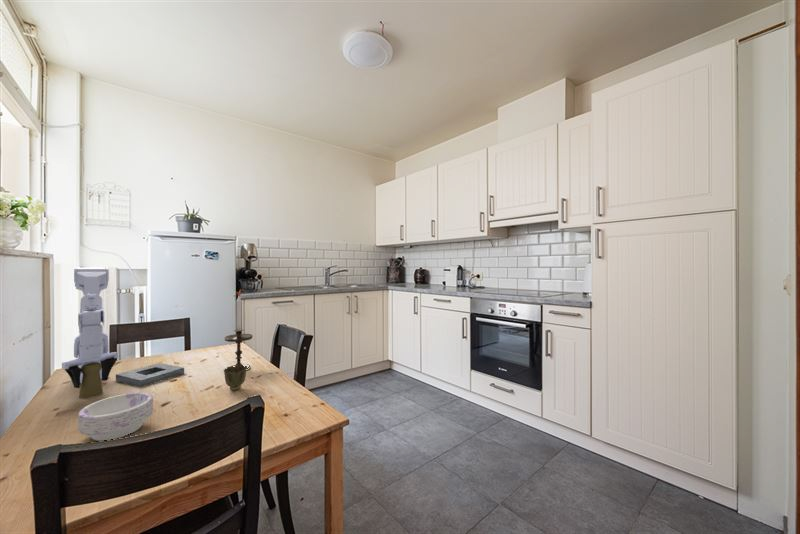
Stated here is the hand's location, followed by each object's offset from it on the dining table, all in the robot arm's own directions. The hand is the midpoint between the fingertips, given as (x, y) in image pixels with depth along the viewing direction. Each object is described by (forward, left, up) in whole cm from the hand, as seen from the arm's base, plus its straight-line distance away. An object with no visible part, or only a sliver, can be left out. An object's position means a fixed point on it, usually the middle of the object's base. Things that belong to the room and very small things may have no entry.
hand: (91, 383), depth 112 cm
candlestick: (+24, +40, -4) cm, 47 cm away
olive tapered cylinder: (0, 0, -4) cm, 4 cm away
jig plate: (0, +19, -4) cm, 19 cm away
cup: (+42, +23, -4) cm, 48 cm away
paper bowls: (+38, -11, -4) cm, 40 cm away
